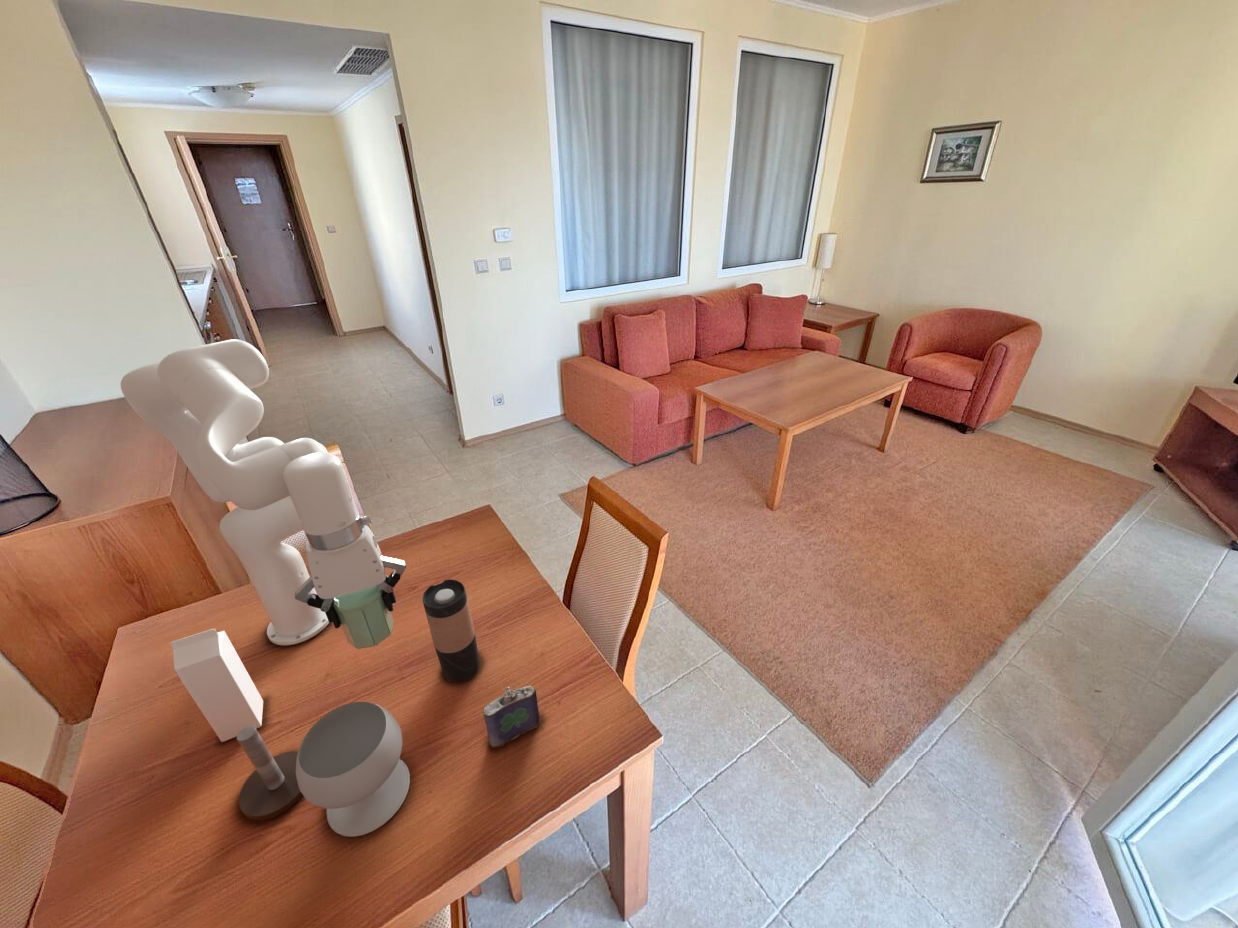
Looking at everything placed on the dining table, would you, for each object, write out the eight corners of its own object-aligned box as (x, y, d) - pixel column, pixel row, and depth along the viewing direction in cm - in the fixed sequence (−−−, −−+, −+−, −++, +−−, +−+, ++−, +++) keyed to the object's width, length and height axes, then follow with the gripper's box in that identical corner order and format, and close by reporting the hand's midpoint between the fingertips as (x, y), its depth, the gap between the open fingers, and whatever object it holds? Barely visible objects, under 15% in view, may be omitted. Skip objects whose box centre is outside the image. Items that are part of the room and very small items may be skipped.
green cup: (340, 636, 86) (325, 597, 82) (377, 611, 91) (365, 573, 87) (364, 654, 82) (349, 615, 78) (401, 627, 88) (389, 588, 83)
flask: (492, 751, 85) (483, 711, 80) (487, 736, 87) (478, 697, 82) (542, 725, 89) (537, 685, 84) (536, 712, 91) (530, 672, 86)
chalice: (413, 827, 75) (390, 769, 67) (310, 858, 71) (274, 802, 64) (418, 741, 86) (399, 684, 79) (330, 764, 83) (302, 707, 76)
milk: (261, 726, 89) (212, 641, 78) (221, 743, 87) (164, 656, 76) (263, 700, 94) (217, 616, 83) (225, 715, 91) (172, 630, 80)
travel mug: (470, 686, 96) (452, 611, 86) (434, 680, 97) (413, 605, 88) (487, 655, 102) (472, 581, 93) (453, 649, 104) (435, 576, 94)
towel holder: (246, 771, 82) (212, 718, 75) (314, 745, 86) (287, 692, 79) (236, 832, 74) (196, 780, 68) (311, 801, 78) (281, 747, 71)
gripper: (393, 504, 83) (416, 584, 91) (272, 533, 76) (308, 616, 84) (397, 528, 77) (420, 611, 85) (266, 561, 70) (305, 648, 79)
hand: (364, 613), depth 85 cm, fingers closed on green cup, 7 cm apart
